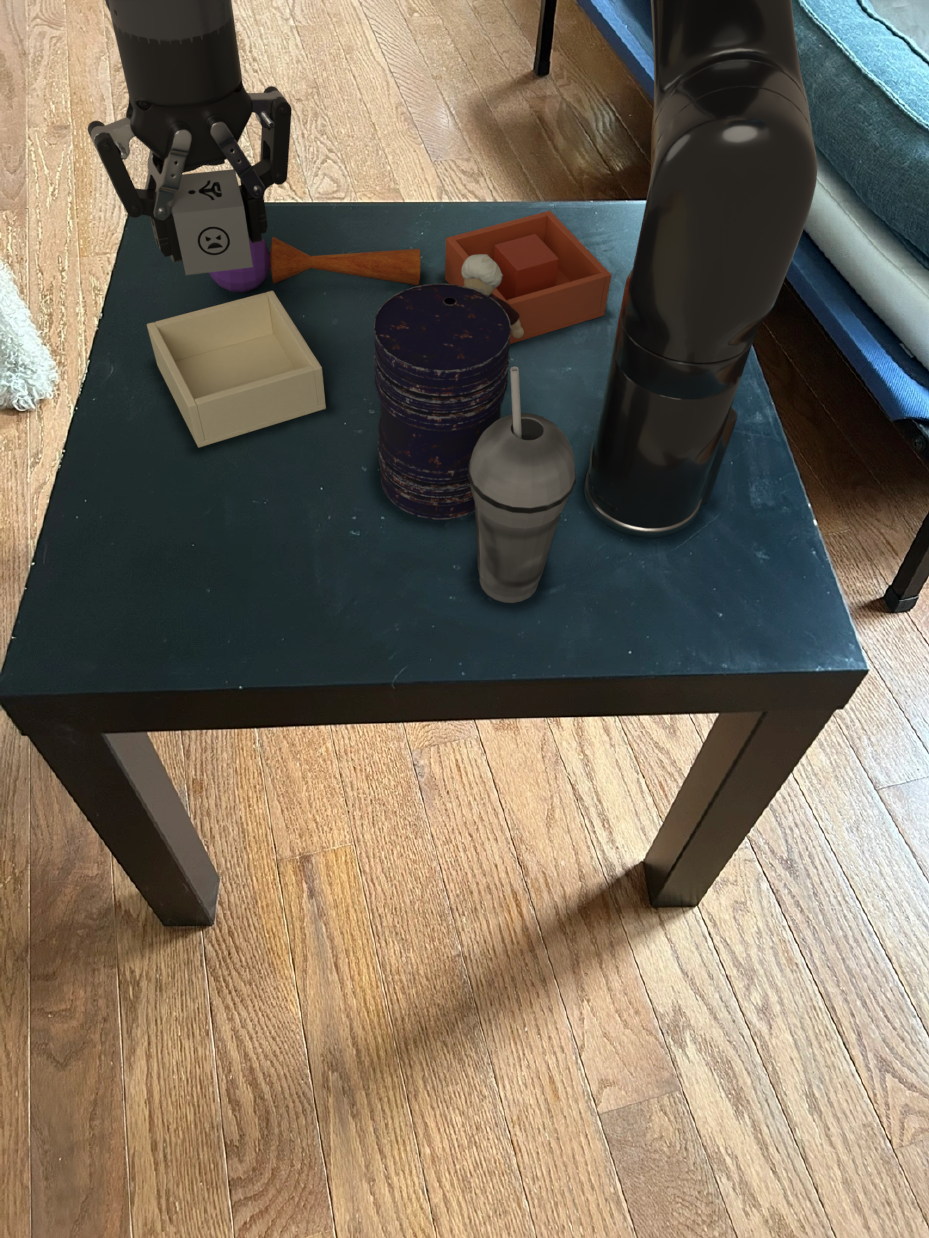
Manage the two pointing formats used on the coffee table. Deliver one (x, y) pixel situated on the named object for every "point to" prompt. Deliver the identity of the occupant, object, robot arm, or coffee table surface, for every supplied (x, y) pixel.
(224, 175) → the dice cube
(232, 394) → the cream bin
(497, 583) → the beverage cup
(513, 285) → the rust block
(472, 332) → the navy cylindrical canister
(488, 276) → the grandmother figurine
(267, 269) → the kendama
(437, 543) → the coffee table surface
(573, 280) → the terracotta bin
